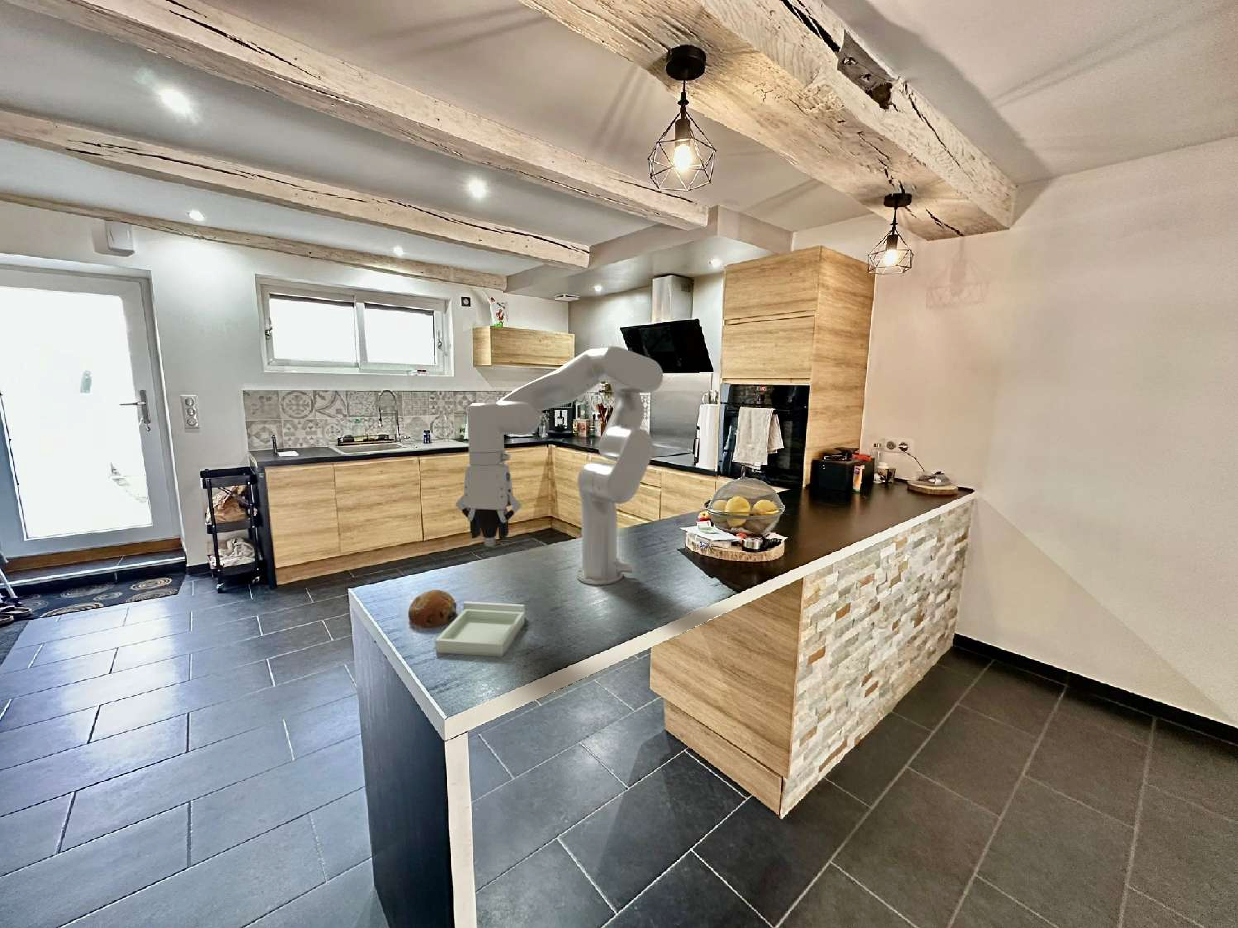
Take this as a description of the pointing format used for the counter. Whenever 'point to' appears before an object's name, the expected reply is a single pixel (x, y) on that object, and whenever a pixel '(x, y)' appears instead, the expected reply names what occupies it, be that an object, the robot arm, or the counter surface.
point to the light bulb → (488, 525)
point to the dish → (480, 633)
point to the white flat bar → (494, 606)
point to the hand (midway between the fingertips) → (489, 536)
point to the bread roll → (432, 609)
